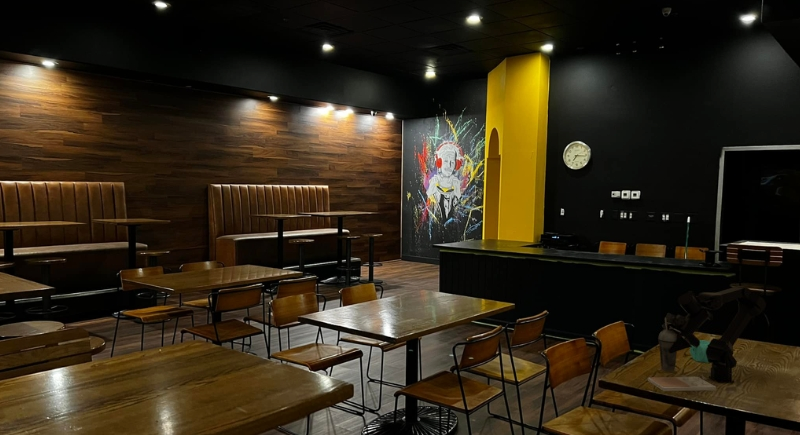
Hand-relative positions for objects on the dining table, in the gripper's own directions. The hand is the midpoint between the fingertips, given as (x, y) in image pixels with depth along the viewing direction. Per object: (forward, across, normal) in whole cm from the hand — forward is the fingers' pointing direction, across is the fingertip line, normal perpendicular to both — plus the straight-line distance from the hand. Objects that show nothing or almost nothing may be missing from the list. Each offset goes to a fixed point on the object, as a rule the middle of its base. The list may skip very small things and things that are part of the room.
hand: (664, 350), depth 220 cm
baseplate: (+5, +1, +14) cm, 15 cm away
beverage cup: (+5, 0, +6) cm, 8 cm away
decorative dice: (-14, -32, +33) cm, 48 cm away
